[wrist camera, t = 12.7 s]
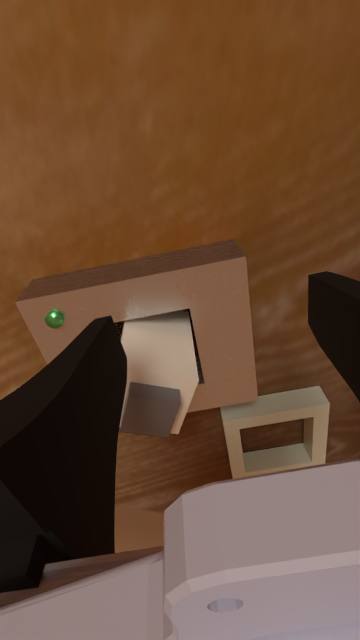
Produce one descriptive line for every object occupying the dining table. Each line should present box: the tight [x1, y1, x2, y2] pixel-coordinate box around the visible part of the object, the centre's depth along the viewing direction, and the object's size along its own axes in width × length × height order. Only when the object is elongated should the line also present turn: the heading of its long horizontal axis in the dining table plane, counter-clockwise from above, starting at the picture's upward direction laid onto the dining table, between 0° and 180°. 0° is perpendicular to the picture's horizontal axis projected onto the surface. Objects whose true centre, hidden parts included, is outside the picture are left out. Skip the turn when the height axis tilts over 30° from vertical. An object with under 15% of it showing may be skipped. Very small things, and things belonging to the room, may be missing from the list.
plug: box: [119, 310, 199, 438], centre depth 20 cm, size 4×4×8 cm
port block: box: [15, 239, 258, 413], centre depth 22 cm, size 13×11×3 cm
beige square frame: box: [220, 386, 330, 479], centre depth 28 cm, size 8×8×2 cm
